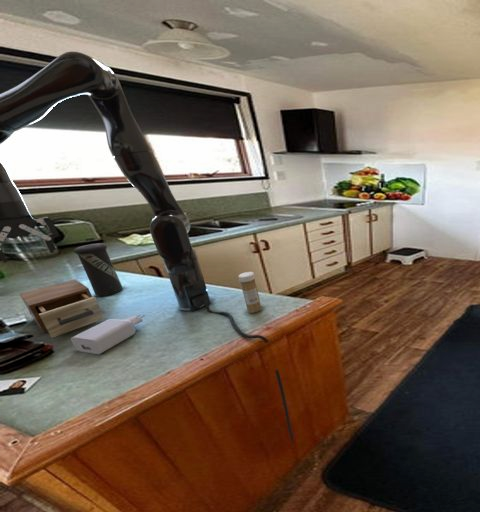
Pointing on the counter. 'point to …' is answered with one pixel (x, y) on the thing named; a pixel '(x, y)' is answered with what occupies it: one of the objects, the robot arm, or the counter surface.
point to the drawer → (69, 313)
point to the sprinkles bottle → (250, 292)
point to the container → (99, 269)
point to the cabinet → (51, 297)
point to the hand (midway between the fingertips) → (29, 257)
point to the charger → (105, 335)
